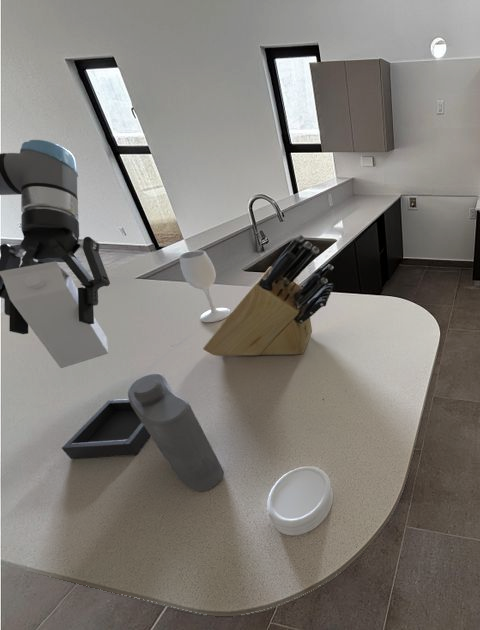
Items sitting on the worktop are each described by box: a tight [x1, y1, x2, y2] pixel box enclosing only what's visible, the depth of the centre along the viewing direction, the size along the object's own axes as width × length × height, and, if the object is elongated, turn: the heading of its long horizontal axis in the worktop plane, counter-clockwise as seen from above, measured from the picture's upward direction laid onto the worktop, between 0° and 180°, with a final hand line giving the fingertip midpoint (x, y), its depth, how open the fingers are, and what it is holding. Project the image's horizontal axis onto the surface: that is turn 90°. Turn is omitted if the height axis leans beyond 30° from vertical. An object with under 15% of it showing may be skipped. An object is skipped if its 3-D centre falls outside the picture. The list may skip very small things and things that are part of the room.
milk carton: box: [0, 261, 109, 369], centre depth 62 cm, size 7×7×19 cm
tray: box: [61, 398, 152, 460], centre depth 68 cm, size 12×12×3 cm
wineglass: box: [178, 249, 231, 323], centre depth 102 cm, size 9×9×21 cm
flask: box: [127, 373, 225, 492], centre depth 57 cm, size 15×6×20 cm, turn 52°
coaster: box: [266, 465, 334, 537], centre depth 55 cm, size 10×10×4 cm
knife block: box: [202, 234, 334, 357], centre depth 86 cm, size 11×35×31 cm, turn 91°
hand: (53, 327), depth 60 cm, fingers closed on milk carton, 9 cm apart
